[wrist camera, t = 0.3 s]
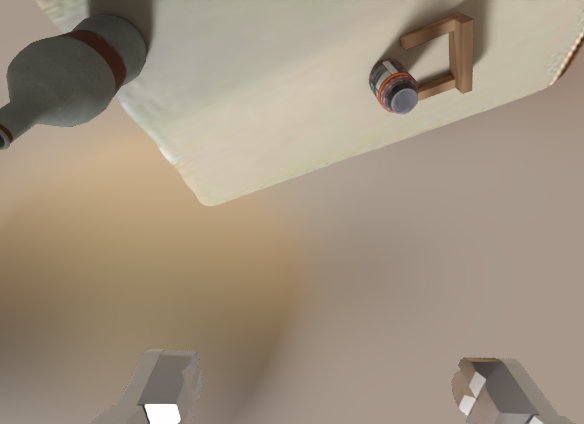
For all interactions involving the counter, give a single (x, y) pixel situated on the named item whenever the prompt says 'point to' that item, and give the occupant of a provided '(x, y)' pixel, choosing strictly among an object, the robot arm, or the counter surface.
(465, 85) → the holder
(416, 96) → the supplement bottle
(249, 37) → the counter surface
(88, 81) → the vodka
